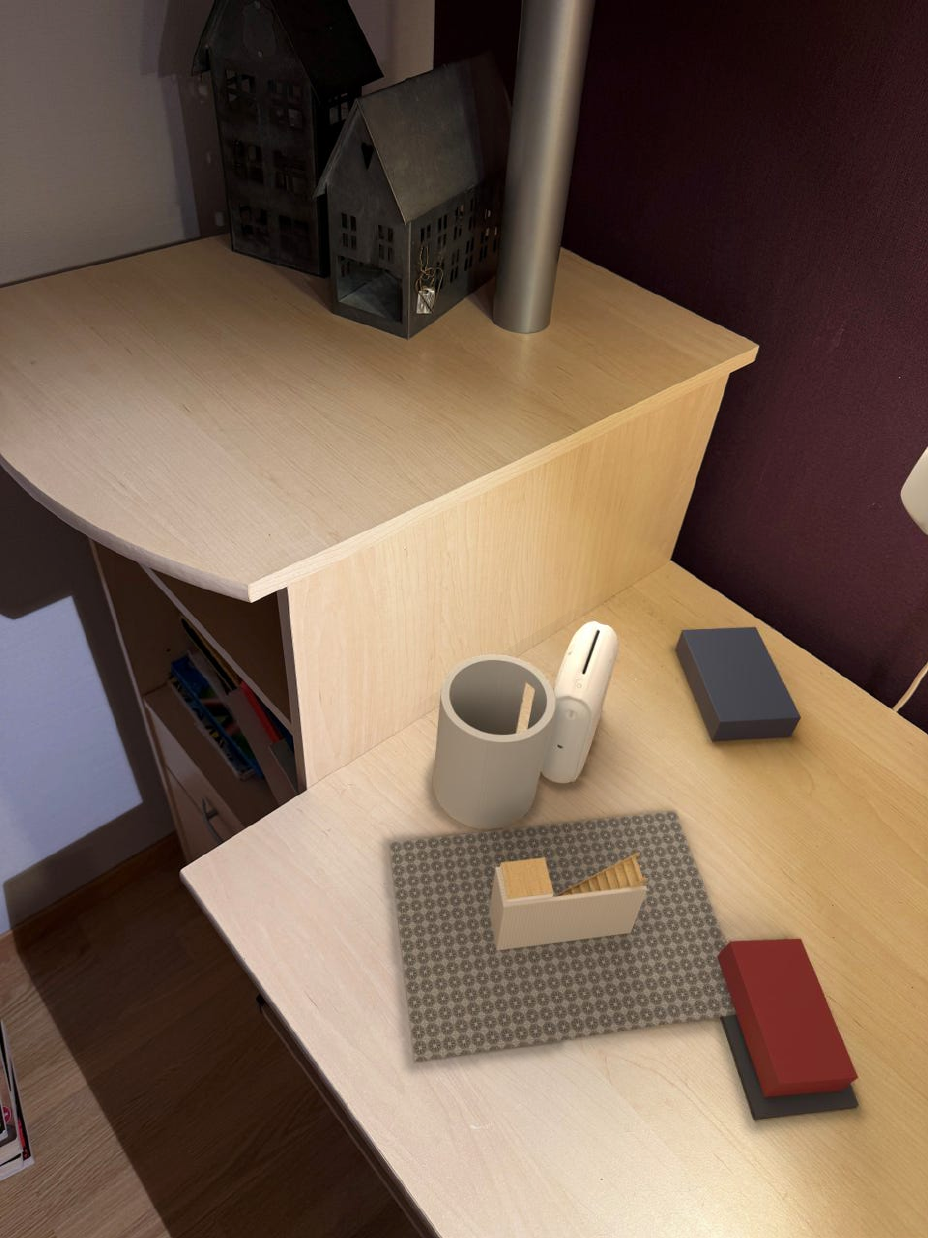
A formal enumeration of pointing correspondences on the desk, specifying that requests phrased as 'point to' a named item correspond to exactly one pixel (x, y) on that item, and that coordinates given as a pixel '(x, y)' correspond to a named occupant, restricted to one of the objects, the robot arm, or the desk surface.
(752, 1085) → the felt pad
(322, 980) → the desk surface
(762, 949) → the burgundy notebook
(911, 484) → the robot arm
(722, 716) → the navy hardback
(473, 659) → the cup
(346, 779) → the desk surface
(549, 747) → the photo printer
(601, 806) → the desk surface
